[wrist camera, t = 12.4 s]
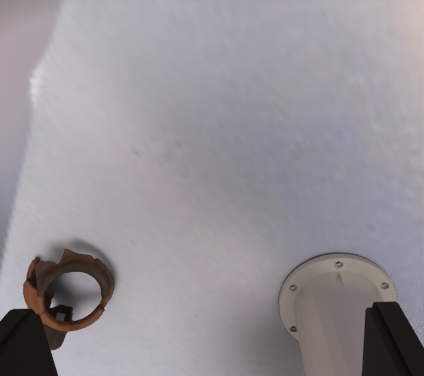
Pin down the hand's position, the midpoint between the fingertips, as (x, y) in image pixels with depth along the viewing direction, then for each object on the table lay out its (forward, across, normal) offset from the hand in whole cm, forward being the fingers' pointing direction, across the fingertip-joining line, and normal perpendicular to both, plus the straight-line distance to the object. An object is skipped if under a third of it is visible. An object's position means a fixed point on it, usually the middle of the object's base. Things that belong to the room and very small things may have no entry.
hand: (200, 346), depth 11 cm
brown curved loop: (+29, +20, +16) cm, 39 cm away
